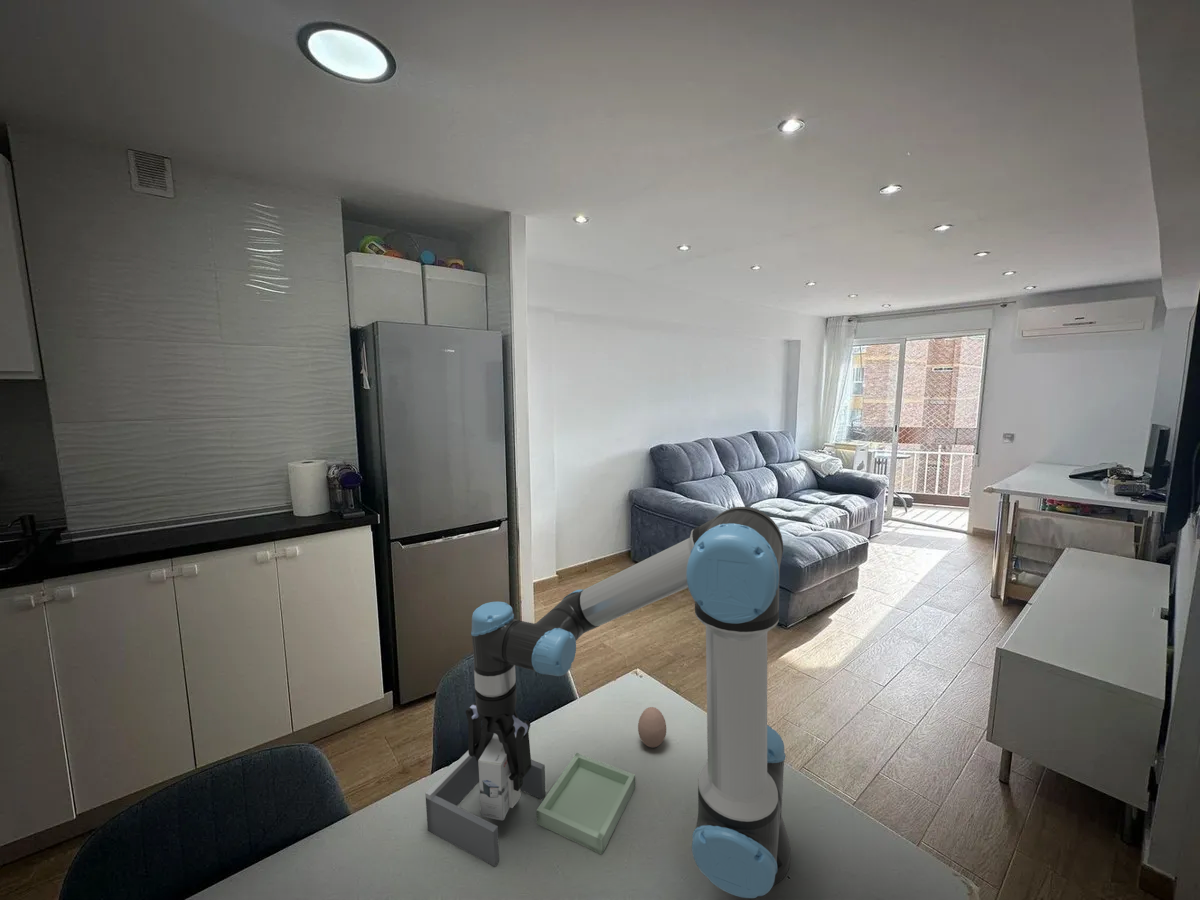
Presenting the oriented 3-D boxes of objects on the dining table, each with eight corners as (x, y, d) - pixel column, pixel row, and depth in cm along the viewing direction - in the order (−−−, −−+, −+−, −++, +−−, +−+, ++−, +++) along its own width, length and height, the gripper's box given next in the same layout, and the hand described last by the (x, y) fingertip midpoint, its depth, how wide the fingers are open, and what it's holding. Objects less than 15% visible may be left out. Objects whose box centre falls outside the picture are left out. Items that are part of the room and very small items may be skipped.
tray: (635, 787, 100) (635, 774, 100) (601, 854, 86) (601, 840, 85) (576, 764, 106) (576, 752, 106) (536, 823, 92) (536, 810, 92)
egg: (653, 760, 107) (653, 723, 106) (632, 743, 112) (632, 708, 111) (672, 745, 112) (672, 709, 111) (651, 730, 117) (651, 695, 115)
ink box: (499, 780, 97) (495, 727, 96) (522, 784, 96) (519, 730, 95) (480, 817, 89) (475, 760, 88) (505, 821, 88) (501, 764, 86)
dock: (545, 795, 98) (544, 760, 97) (494, 867, 84) (493, 826, 83) (484, 768, 105) (482, 735, 104) (427, 830, 91) (425, 792, 90)
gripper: (548, 687, 89) (552, 798, 92) (470, 663, 97) (476, 765, 100) (525, 712, 82) (530, 831, 85) (443, 683, 90) (450, 793, 93)
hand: (501, 795), depth 93 cm, fingers closed on ink box, 6 cm apart
